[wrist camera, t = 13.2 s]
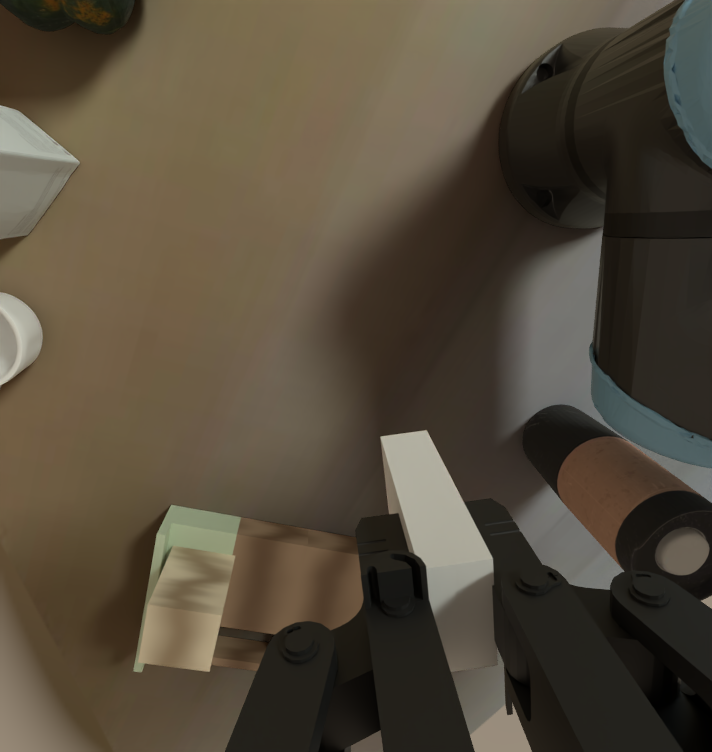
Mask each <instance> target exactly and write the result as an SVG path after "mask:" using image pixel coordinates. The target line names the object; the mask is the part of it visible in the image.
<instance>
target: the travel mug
mask: <svg viewBox="0 0 712 752" xmlns="http://www.w3.org/2000/svg"><path fill="white" fill-rule="evenodd" d="M523 448H524V451H525V454H526V455H527V457H528V459H529V460H530V461H531V463H532V464H533V465H534V466H535V468H536V469H537V470H538V471H539V473H540V474H541V475H542V476H543V478H544V479H545V480H546V482H547V483H548V484H549V485H550V487H551V488H552V489H553V490H554V492H555V493H556V494H557V495H558V497H559V498H560V499H561V500H562V502H563V503H564V504H565V505H566V506H567V508H568V509H569V510H570V511H571V512H572V513H573V514H574V515H575V517H576V518H577V519H578V520H579V521H580V522H581V523H582V524H583V525H584V527H585V528H586V529H587V530H588V531H589V532H590V533H591V534H592V536H593V537H594V538H595V539H596V540H597V541H598V542H599V543H600V544H601V546H602V547H603V548H604V549H605V550H606V551H607V552H608V553H609V555H610V556H611V557H612V558H613V559H614V560H615V561H616V562H617V563H618V565H619V566H620V567H621V568H622V569H623V570H624V571H625V572H628V571H633V570H635V571H648V572H651V573H654V574H658V575H661V576H663V577H665V578H667V579H669V580H671V581H673V582H674V583H676V584H677V585H679V586H680V587H682V588H683V589H684V590H686V591H687V592H689V593H690V594H691V595H693V596H694V597H696V598H697V599H698V600H700V601H701V600H703V599H706V598H708V597H709V596H711V595H712V503H711V502H709V501H708V500H707V499H705V498H704V497H703V496H701V495H700V494H698V493H697V492H696V491H694V490H693V489H692V488H690V487H689V486H688V485H686V484H685V483H684V482H682V481H681V480H680V479H678V478H677V477H675V476H674V475H673V474H671V473H670V472H669V471H667V470H666V469H665V468H663V467H662V466H661V465H659V464H658V463H657V462H655V461H654V460H652V459H651V458H650V457H648V456H647V455H646V454H644V453H643V452H642V451H640V450H639V449H638V448H636V447H635V446H633V445H632V444H631V443H629V442H628V441H626V440H625V439H623V438H622V437H620V436H619V435H617V434H616V433H614V432H613V431H611V430H610V429H608V428H607V427H605V426H603V425H602V424H600V423H599V422H597V421H596V420H594V419H593V418H591V417H590V416H588V415H587V414H585V413H583V412H582V411H580V410H578V409H576V408H575V407H572V406H568V405H553V406H550V407H547V408H545V409H543V410H541V411H539V412H538V413H537V414H535V415H534V416H533V417H532V418H531V420H530V421H529V422H528V424H527V426H526V428H525V430H524V434H523Z"/></svg>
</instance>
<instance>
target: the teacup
mask: <svg viewBox="0 0 712 752" xmlns="http://www.w3.org/2000/svg"><path fill="white" fill-rule="evenodd" d="M42 341H43V334H42V328H41V325H40V322H39V320H38V318H37V316H36V315H35V313H34V312H33V311H32V310H31V309H30V308H29V307H28V306H27V305H26V304H25V303H24V302H22V301H21V300H19V299H18V298H16V297H14V296H12V295H9V294H6V293H1V292H0V388H1V385H2V384H4V383H6V382H8V381H10V380H11V379H12V378H14V377H15V376H16V375H17V374H19V373H20V372H21V371H22V370H24V369H25V368H27V367H28V366H29V365H31V364H32V363H33V362H34V361H35V360H36V358H37V357H38V355H39V353H40V350H41V347H42Z"/></svg>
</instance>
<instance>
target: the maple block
mask: <svg viewBox="0 0 712 752" xmlns="http://www.w3.org/2000/svg"><path fill="white" fill-rule="evenodd" d="M234 560H235V556H234V555H228V554H222V553H216V552H209V551H203V550H197V549H191V548H185V547H179V546H173V547H172V549H171V552H170V554H169V556H168V559H167V561H166V563H165V566H164V568H163V570H162V573H161V575H160V577H159V580H158V582H157V584H156V587H155V589H154V591H153V594H152V596H151V598H150V601H149V603H148V606H147V612H146V618H145V624H144V630H143V636H142V642H141V648H140V654H139V660H138V663H145V664H153V665H161V666H168V667H176V668H184V669H191V670H199V671H207V672H209V671H210V667H211V663H212V658H213V654H214V650H215V645H216V641H217V637H218V632H219V628H220V624H221V619H222V615H223V610H224V606H225V601H226V597H227V592H228V588H229V583H230V578H231V574H232V569H233V565H234Z"/></svg>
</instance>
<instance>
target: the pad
mask: <svg viewBox="0 0 712 752" xmlns="http://www.w3.org/2000/svg"><path fill="white" fill-rule="evenodd" d="M240 520H241V517H237V516H232V515H226V514H220V513H215V512H209V511H203V510H198V509H192V508H186V507H181V506H175V505H171V506H170V508H169V510H168V512H167V514H166V516H165V518H164V521H163V523H162V525H161V527H160V529H159V531H158V533H157V536H156V542H155V548H154V554H153V560H152V565H151V571H150V577H149V583H148V589H147V595H146V601H145V606H144V612H143V618H142V624H141V630H140V636H139V641H138V647H137V653H136V659H135V665H134V672H142V670H143V668H144V665H145V663H138V660H139V654H140V648H141V642H142V636H143V630H144V624H145V618H146V612H147V606H148V603H149V601H150V598H151V596H152V594H153V591H154V589H155V587H156V584H157V582H158V580H159V577H160V575H161V573H162V570H163V568H164V566H165V563H166V561H167V559H168V556H169V554H170V552H171V549H172V547H173V546H179V547H185V548H191V549H197V550H203V551H209V552H216V553H222V554H228V555H233V550H234V545H235V541H236V536H237V532H238V528H239V524H240Z"/></svg>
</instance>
